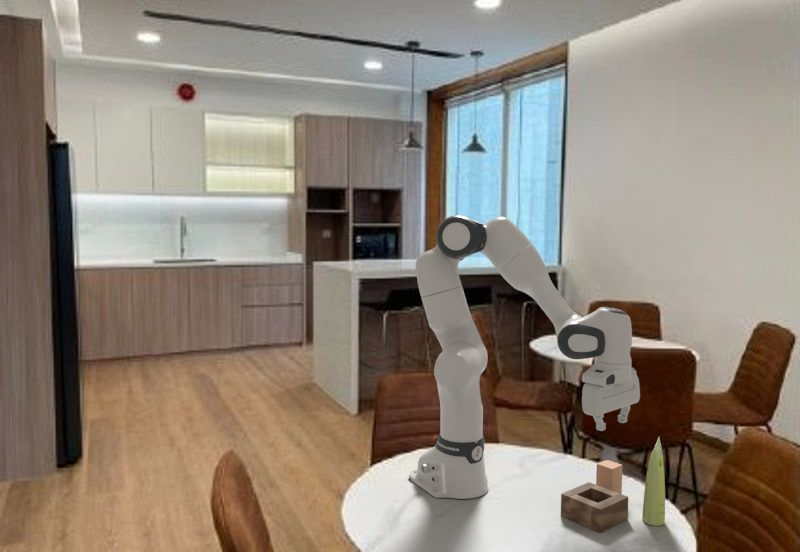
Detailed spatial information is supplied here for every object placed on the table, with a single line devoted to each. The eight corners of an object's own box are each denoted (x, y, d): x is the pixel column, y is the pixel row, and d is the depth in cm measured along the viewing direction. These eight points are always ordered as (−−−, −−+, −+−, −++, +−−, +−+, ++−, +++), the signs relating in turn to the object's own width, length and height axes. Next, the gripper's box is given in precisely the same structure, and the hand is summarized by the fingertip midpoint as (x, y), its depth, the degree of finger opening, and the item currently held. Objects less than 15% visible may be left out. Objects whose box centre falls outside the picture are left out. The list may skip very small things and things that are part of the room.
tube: (671, 526, 151) (674, 444, 150) (651, 528, 150) (654, 446, 149) (656, 515, 157) (659, 436, 155) (637, 517, 156) (640, 437, 154)
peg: (595, 498, 167) (596, 463, 166) (605, 493, 170) (607, 459, 169) (611, 504, 163) (612, 469, 162) (621, 499, 166) (622, 464, 165)
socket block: (560, 515, 157) (561, 493, 156) (588, 503, 164) (588, 482, 163) (600, 533, 148) (601, 509, 148) (627, 519, 155) (628, 496, 155)
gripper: (624, 363, 172) (623, 415, 174) (577, 376, 160) (577, 431, 161) (646, 367, 168) (645, 420, 169) (599, 380, 155) (599, 437, 156)
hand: (611, 426), depth 165 cm, fingers open, 8 cm apart
